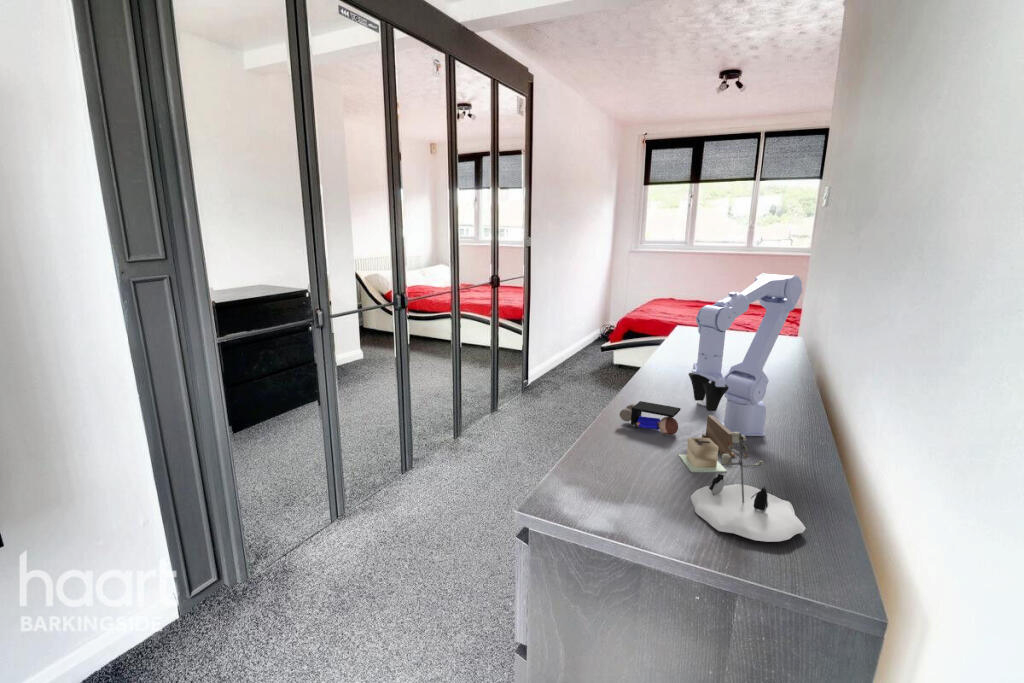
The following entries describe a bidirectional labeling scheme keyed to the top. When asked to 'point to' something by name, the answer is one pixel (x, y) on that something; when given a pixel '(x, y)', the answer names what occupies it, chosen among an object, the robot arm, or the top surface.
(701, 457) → the letter cube
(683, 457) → the pad
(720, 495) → the figurine
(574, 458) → the top surface
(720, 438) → the brown piece
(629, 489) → the top surface
